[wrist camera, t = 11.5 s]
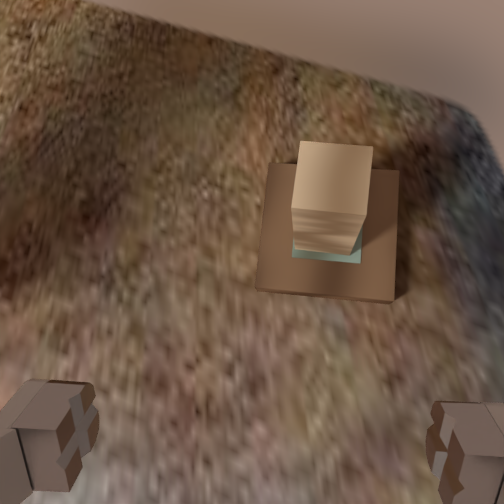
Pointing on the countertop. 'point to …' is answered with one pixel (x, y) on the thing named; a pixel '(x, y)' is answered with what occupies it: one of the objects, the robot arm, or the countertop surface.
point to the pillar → (330, 196)
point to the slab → (326, 264)
